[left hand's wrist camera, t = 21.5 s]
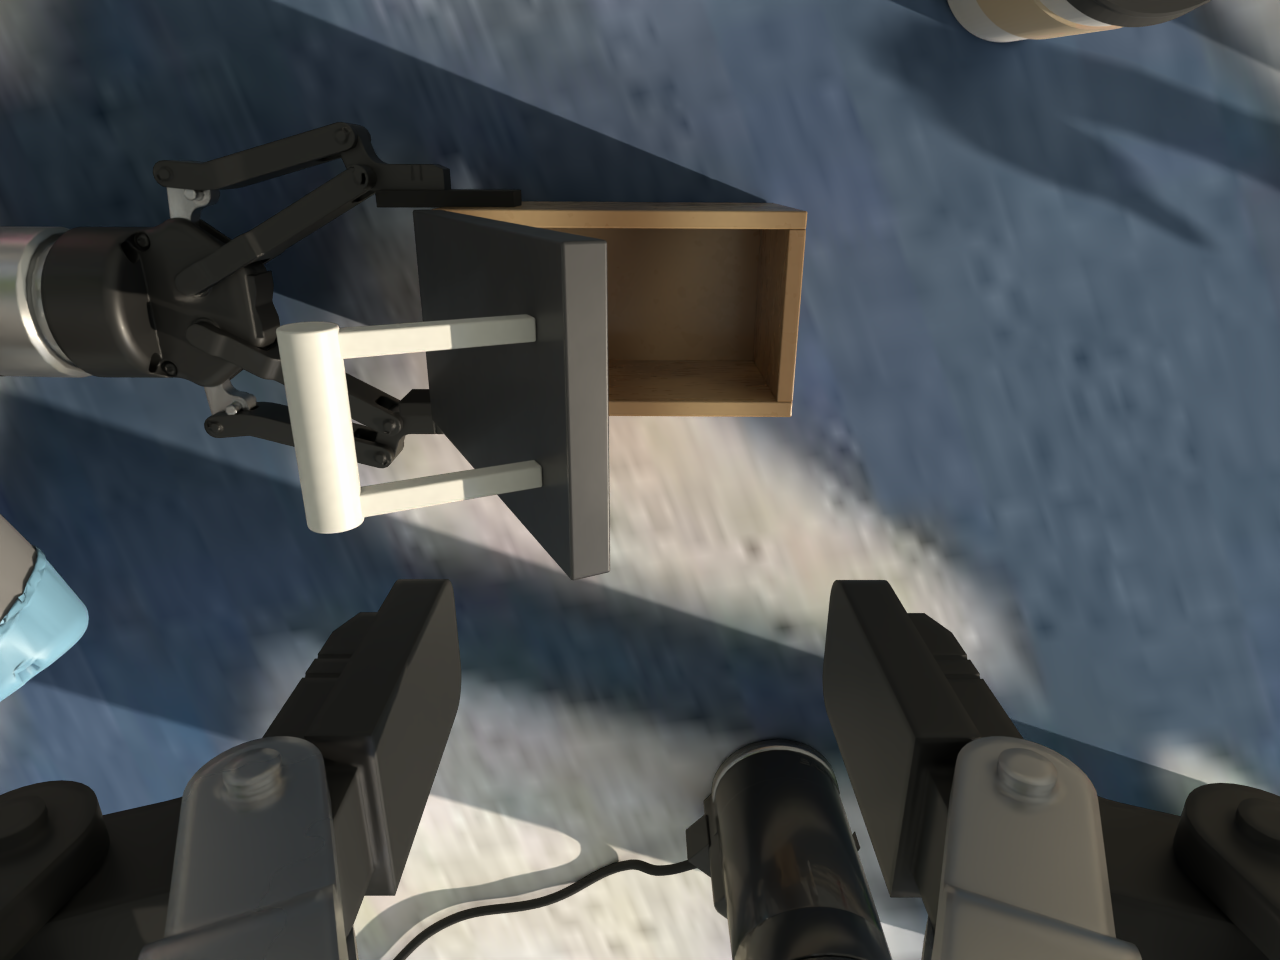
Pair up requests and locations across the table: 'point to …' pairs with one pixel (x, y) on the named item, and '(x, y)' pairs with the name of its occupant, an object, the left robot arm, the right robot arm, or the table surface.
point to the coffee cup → (1061, 16)
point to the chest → (691, 300)
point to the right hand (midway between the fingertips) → (522, 305)
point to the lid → (478, 386)
